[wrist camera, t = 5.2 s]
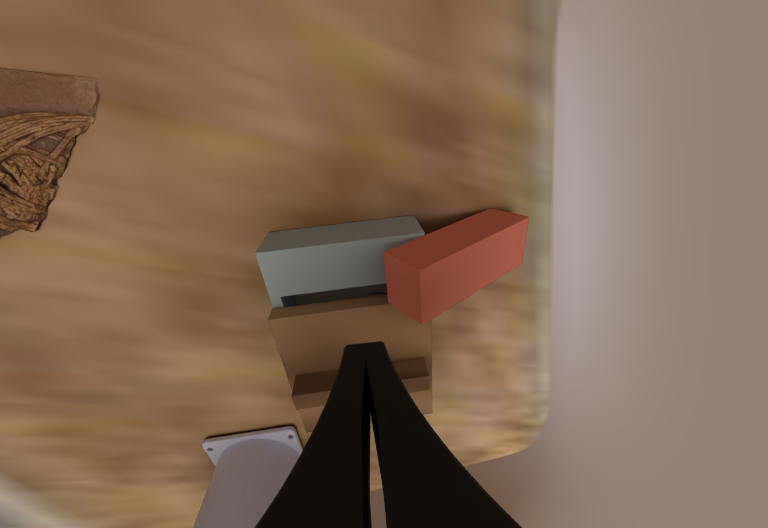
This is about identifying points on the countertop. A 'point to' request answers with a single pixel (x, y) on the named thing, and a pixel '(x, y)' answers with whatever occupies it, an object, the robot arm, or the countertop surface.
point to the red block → (453, 262)
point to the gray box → (331, 260)
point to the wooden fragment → (38, 140)
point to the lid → (344, 327)
